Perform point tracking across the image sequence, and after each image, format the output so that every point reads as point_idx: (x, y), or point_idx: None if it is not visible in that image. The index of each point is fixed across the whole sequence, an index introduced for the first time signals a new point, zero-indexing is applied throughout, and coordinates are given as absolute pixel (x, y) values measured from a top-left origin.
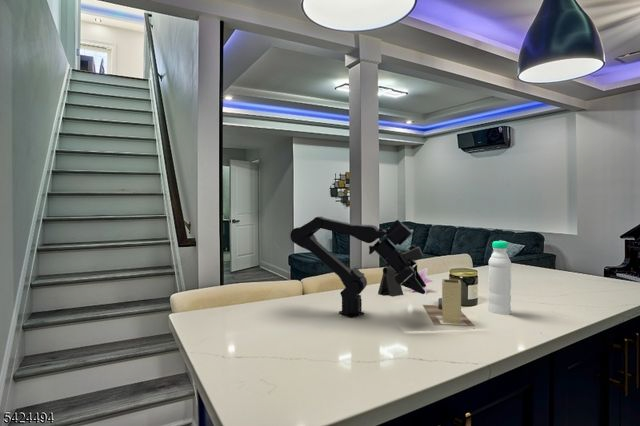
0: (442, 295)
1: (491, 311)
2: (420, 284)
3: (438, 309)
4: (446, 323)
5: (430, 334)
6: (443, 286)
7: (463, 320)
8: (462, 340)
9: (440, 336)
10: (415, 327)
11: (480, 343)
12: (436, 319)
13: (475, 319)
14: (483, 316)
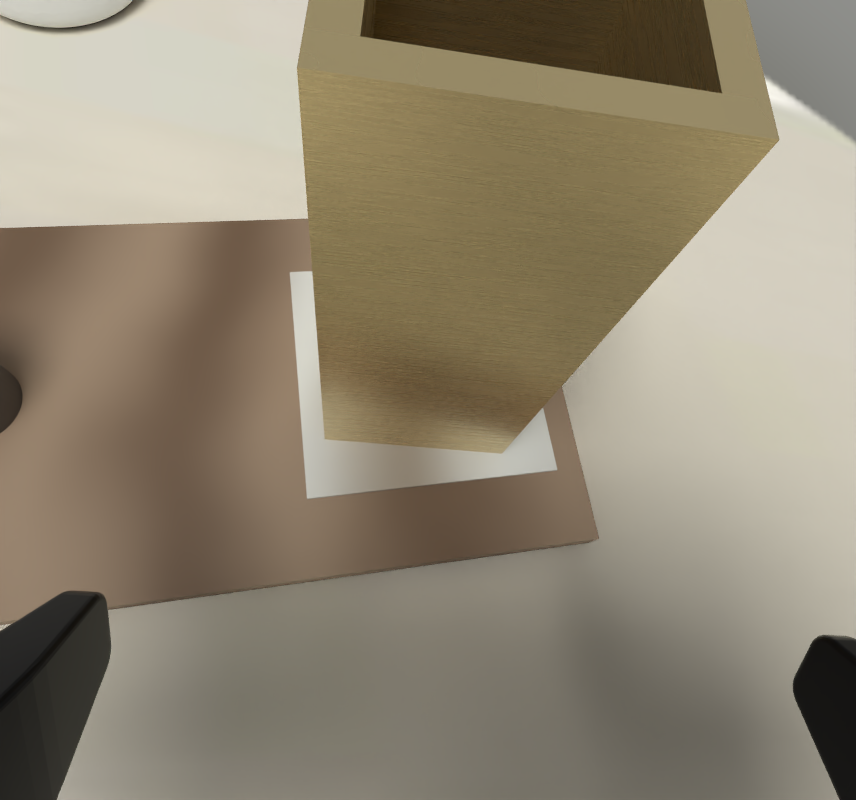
0: (534, 319)
1: (90, 5)
2: (45, 788)
3: (5, 447)
4: (532, 421)
5: (786, 593)
6: (717, 196)
7: None
8: (798, 359)
9: (793, 509)
10: (657, 750)
11: (796, 261)
12: (418, 505)
13: (261, 171)
14: (162, 96)
